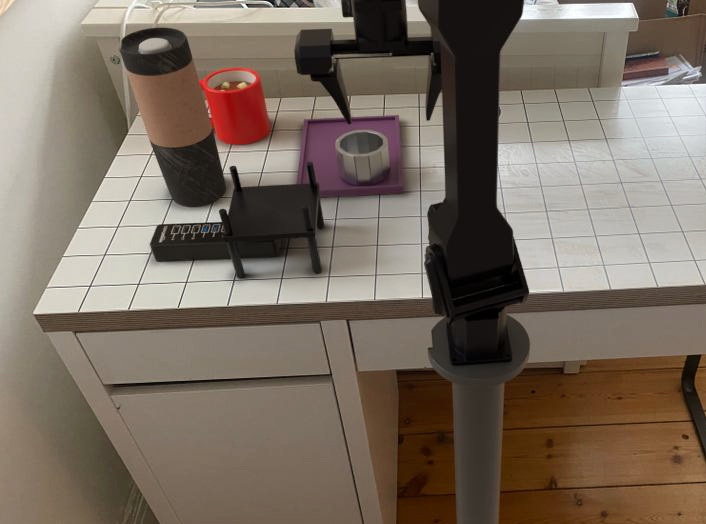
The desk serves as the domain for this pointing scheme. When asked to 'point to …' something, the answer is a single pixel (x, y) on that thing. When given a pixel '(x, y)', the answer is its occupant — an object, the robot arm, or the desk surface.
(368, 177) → the bowl
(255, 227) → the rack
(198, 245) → the multiport hub
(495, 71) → the robot arm
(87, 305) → the desk surface
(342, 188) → the purple tray
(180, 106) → the travel mug
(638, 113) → the desk surface
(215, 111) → the mug
